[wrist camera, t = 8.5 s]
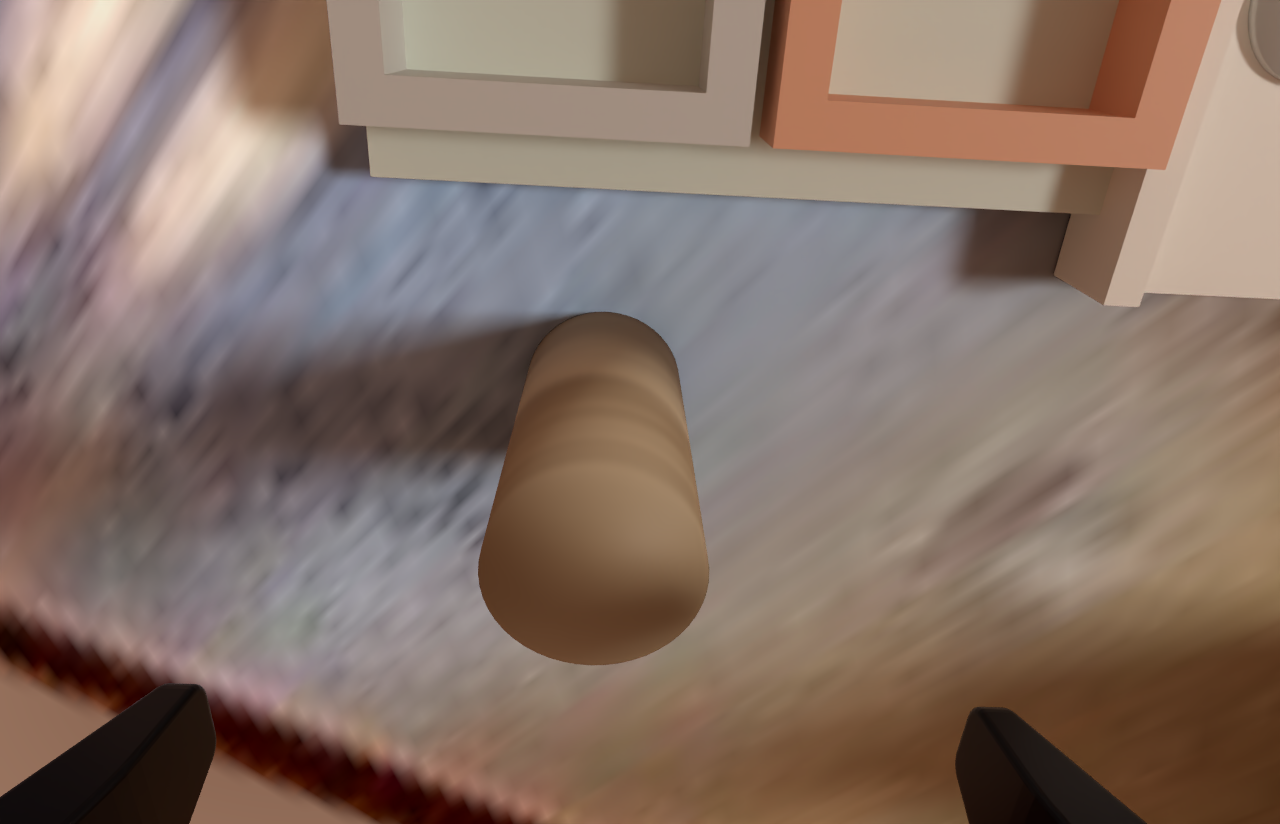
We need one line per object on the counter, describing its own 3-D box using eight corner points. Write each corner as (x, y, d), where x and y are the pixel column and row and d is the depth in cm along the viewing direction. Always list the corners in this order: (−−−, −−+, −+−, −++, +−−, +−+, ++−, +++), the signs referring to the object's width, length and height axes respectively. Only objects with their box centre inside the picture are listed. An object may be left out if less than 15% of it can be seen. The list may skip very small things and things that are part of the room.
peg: (673, 452, 19) (698, 668, 13) (528, 447, 19) (481, 662, 13) (684, 315, 18) (719, 483, 11) (527, 308, 17) (474, 473, 11)
